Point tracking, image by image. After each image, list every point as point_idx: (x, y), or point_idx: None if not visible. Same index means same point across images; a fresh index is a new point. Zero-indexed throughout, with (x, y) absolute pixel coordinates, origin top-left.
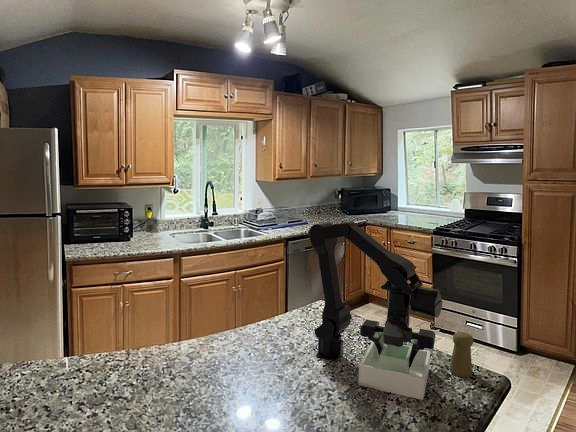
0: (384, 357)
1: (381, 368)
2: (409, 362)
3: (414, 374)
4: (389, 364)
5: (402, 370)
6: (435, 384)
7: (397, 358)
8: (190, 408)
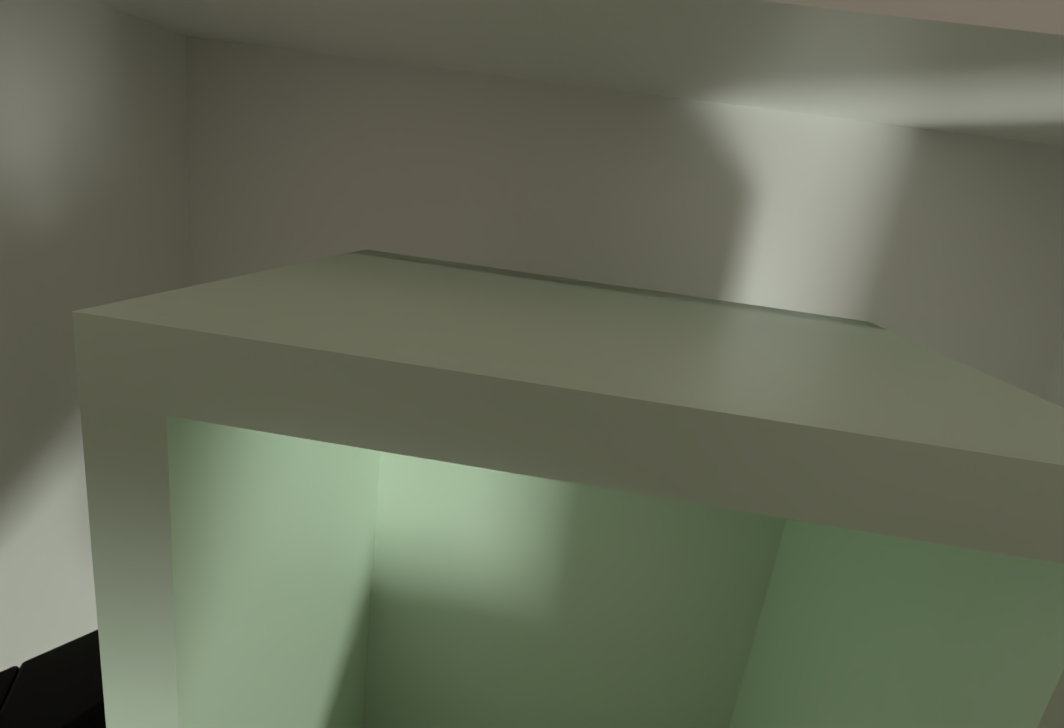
0: (997, 431)
1: (995, 19)
2: None
3: None
4: (722, 340)
5: (394, 281)
6: None
7: (468, 401)
8: None
